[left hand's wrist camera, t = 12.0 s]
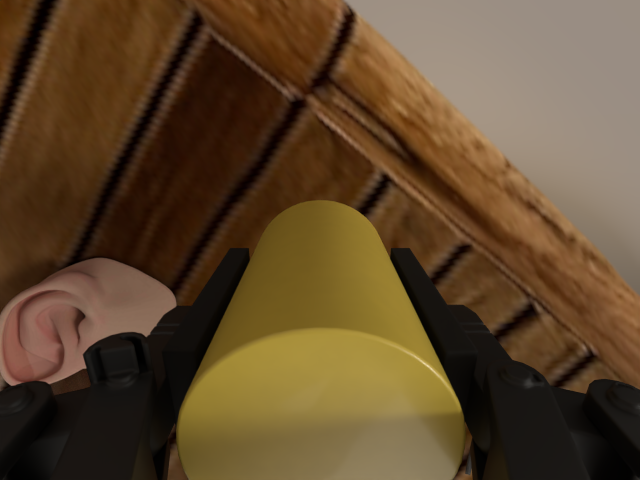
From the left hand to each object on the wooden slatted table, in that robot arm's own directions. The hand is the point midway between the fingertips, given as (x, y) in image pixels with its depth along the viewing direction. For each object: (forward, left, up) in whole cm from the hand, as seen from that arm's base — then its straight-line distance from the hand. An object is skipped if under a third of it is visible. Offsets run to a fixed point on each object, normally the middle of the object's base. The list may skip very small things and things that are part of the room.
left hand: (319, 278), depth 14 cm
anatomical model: (-19, +10, -13) cm, 25 cm away
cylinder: (0, 0, -2) cm, 2 cm away
